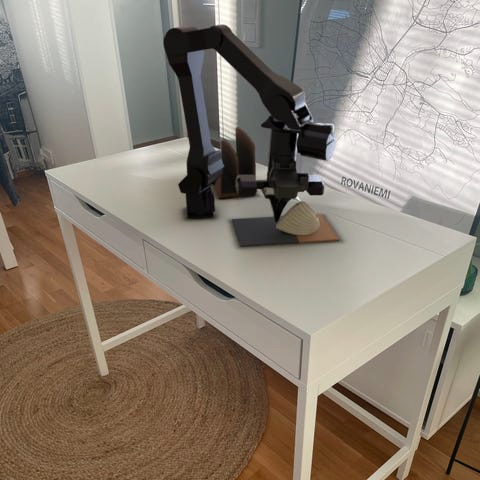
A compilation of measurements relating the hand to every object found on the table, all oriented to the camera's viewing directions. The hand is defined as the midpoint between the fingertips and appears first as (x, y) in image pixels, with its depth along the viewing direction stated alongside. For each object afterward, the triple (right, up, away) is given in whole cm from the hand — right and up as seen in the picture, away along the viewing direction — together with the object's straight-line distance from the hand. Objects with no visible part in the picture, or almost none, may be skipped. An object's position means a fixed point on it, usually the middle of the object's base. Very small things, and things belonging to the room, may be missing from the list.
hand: (276, 221), depth 111 cm
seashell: (+5, -1, +1) cm, 6 cm away
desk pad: (+2, -2, +1) cm, 3 cm away
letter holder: (-11, +15, +26) cm, 32 cm away
